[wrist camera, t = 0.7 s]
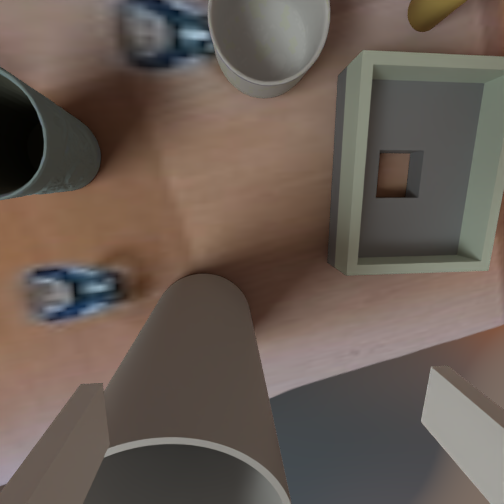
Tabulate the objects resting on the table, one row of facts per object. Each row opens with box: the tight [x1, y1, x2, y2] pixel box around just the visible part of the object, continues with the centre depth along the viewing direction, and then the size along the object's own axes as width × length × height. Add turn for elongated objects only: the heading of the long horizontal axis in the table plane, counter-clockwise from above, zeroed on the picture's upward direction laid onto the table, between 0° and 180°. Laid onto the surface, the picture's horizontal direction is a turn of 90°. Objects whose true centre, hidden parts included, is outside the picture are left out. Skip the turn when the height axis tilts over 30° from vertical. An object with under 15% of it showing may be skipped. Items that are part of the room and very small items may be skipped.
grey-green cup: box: [0, 67, 101, 200], centre depth 25 cm, size 10×10×12 cm
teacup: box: [208, 0, 330, 98], centre depth 27 cm, size 14×11×8 cm
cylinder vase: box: [83, 274, 291, 504], centre depth 25 cm, size 12×12×25 cm
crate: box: [327, 50, 504, 276], centre depth 33 cm, size 23×18×6 cm
